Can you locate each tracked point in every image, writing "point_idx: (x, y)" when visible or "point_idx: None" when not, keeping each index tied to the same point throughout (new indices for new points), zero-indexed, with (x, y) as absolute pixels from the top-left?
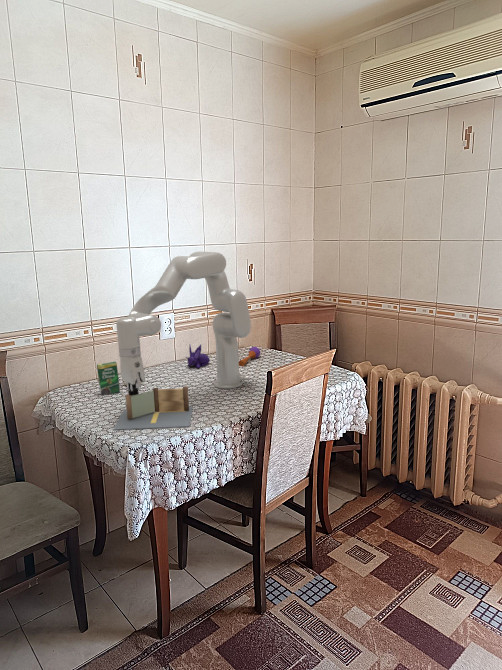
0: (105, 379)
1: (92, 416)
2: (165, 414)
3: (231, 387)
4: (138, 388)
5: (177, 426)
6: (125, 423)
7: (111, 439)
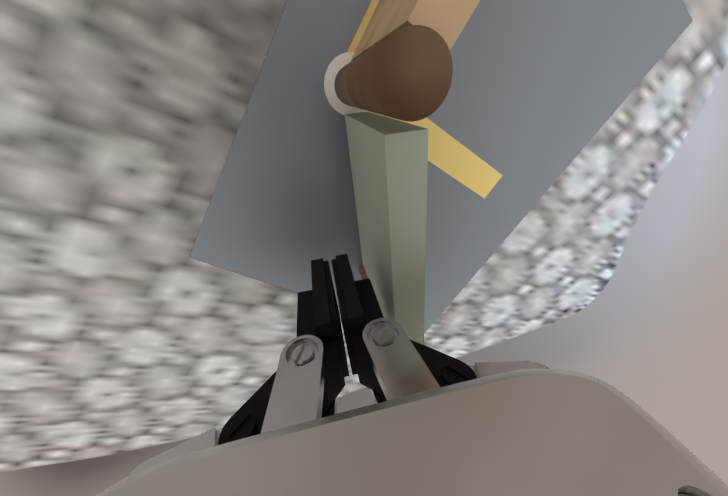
0: None
1: (216, 376)
2: None
3: None
4: (402, 332)
5: (630, 91)
6: None
7: (481, 342)
